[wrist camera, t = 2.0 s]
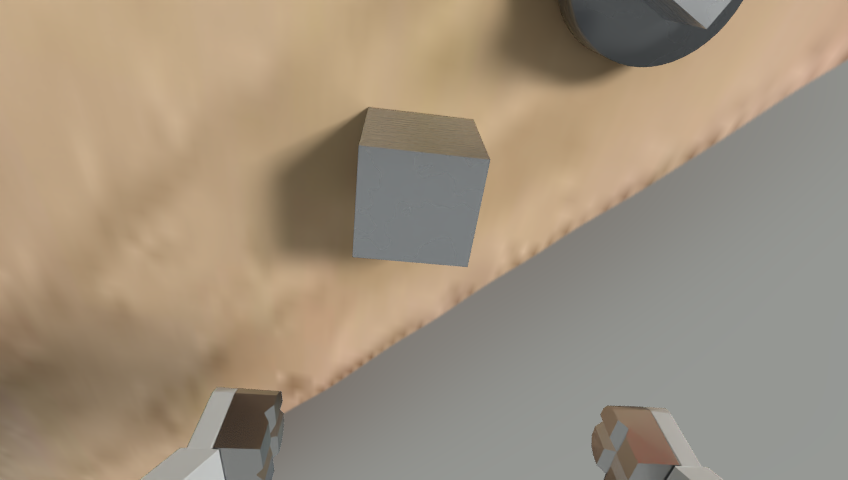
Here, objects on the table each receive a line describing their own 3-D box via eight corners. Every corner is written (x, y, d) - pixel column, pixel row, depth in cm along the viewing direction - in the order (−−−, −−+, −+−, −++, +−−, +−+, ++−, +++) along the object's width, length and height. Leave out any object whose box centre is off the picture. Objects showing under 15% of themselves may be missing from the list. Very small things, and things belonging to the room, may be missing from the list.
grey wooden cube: (362, 202, 28) (352, 257, 23) (368, 107, 25) (358, 145, 20) (456, 211, 29) (467, 266, 23) (473, 119, 26) (490, 159, 20)
